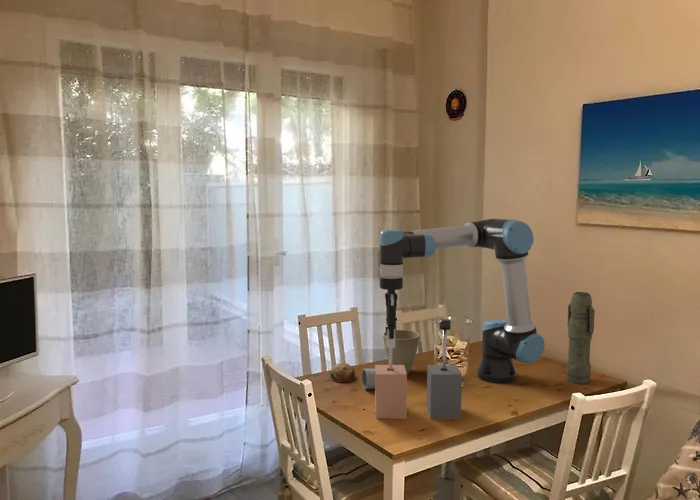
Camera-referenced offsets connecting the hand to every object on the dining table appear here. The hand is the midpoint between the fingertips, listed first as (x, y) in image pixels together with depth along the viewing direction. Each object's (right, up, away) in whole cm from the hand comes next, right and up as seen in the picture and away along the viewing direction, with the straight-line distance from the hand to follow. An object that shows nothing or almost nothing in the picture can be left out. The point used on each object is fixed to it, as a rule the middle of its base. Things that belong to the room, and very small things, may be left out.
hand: (390, 345), depth 193 cm
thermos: (+76, -20, +35) cm, 86 cm away
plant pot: (+7, -18, +45) cm, 49 cm away
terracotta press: (0, -23, +4) cm, 23 cm away
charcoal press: (+18, -23, +4) cm, 29 cm away
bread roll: (-16, -19, +38) cm, 46 cm away
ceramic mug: (-5, -21, +28) cm, 35 cm away
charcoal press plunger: (+18, -14, +1) cm, 23 cm away
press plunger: (0, -15, +2) cm, 16 cm away
